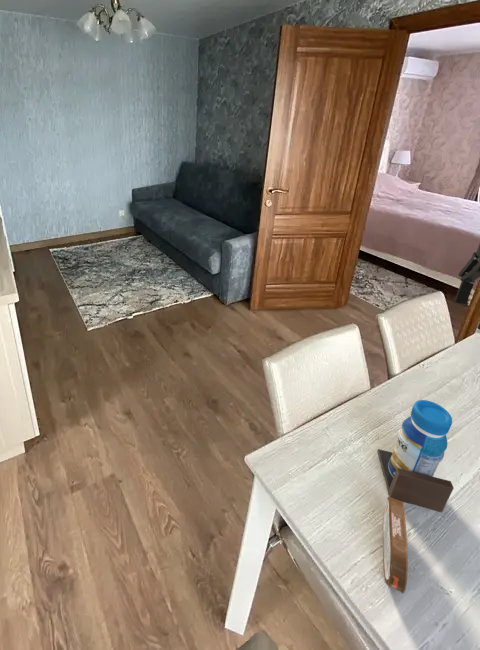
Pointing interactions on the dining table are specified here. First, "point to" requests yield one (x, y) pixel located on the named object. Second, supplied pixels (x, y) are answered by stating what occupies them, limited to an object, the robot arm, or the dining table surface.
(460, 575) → the dining table surface
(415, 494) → the dock
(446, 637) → the dining table surface
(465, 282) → the robot arm
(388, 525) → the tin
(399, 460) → the blue capped bottle
